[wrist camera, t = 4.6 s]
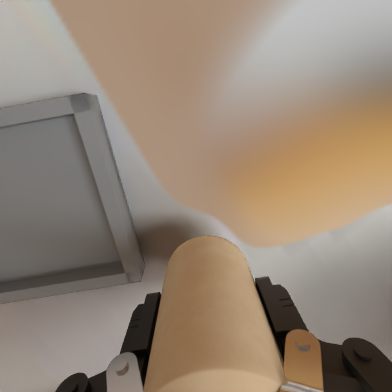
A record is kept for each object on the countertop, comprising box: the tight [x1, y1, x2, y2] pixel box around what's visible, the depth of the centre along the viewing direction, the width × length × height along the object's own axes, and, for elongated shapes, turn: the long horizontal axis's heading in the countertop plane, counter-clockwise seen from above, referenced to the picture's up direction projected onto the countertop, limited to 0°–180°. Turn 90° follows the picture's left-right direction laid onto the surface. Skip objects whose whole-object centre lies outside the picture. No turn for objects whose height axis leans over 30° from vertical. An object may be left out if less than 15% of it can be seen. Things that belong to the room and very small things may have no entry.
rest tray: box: [0, 93, 145, 304], centre depth 18 cm, size 14×14×2 cm
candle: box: [143, 236, 288, 392], centre depth 11 cm, size 6×6×10 cm
